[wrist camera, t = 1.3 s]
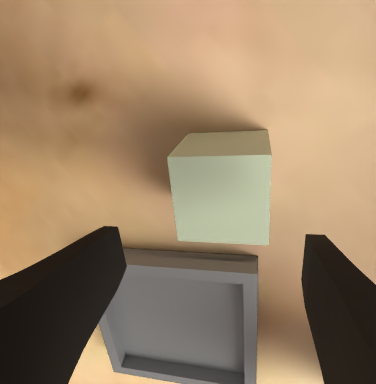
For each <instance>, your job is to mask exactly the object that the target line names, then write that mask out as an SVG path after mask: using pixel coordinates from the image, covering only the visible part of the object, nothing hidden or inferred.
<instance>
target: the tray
mask: <svg viewBox="0 0 376 384" xmlns="http://www.w3.org/2000/svg"><path fill="white" fill-rule="evenodd" d="M123 251H124V256H125V260H126V264H127V268H126V270H125V273H124V276H123V278H122V281H121V283H120V285H119V288H118V290H117V291H116V293H115V295H114V297H113V299H112V300H111V302H110V304H109V306H108V307H107V309H106V311H105V312H104V314H103V316H102V318H101V319H100V321H99V326H100V330H101V333H102V336H103V339H104V342H105V345H106V349H107V352H108V355H109V358H110V361H111V364H112V368H113V371H114V372H117V373H123V374H129V375H134V376H140V377H146V378H152V379H157V380H163V381H169V382H175V383H181V384H256V370H257V298H258V256H247V255H230V254H213V253H196V252H180V251H163V250H146V249H129V248H123Z"/></svg>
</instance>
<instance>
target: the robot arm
mask: <svg viewBox="0 0 376 384" xmlns="http://www.w3.org/2000/svg"><path fill="white" fill-rule="evenodd" d="M126 268H127V264H126V260H125V256H124V251H123V247H122V243H121V238H120V234H119V230H118V227H112V226H104V227H102V228H99V229H97V230H95V231H93V232H92V233H90V234H88V235H86V236H84V237H83V238H81V239H79V240H77V241H76V242H74V243H72V244H70V245H69V246H67V247H65V248H63V249H62V250H60V251H58V252H56V253H54V254H52V255H51V256H49V257H47V258H45V259H43V260H41V261H39V262H37V263H35V264H34V265H32V266H30V267H28V268H26V269H24V270H21V271H19V272H17V273H15V274H13V275H10V276H8V277H6V278H4V279H1V280H0V384H68V383H69V380H70V378H71V376H72V373H73V371H74V369H75V367H76V365H77V363H78V360H79V358H80V356H81V354H82V352H83V350H84V348H85V346H86V344H87V342H88V340H89V338H90V337H91V335H92V333H93V331H94V330H95V328H96V326H97V324H98V323H99V321H100V319H101V318H102V316H103V314H104V312H105V311H106V309H107V307H108V306H109V304H110V302H111V300H112V299H113V297H114V295H115V293H116V291H117V290H118V288H119V285H120V283H121V281H122V278H123V276H124V273H125V270H126ZM301 280H302V288H303V296H304V303H305V309H306V313H307V317H308V321H309V325H310V328H311V332H312V336H313V340H314V344H315V348H316V352H317V355H318V359H319V363H320V367H321V371H322V375H323V380H324V384H376V285H375V284H374V283H373V282H372V281H371V280H370V279H369V278H368V277H366V276H365V275H364V274H363V273H362V272H361V271H360V270H359V269H358V268H357V267H356V266H355V265H354V264H353V263H352V262H351V261H350V260H349V259H348V258H347V257H346V256H345V255H344V254H343V253H342V252H341V251H340V250H339V249H338V248H337V247H336V246H335V245H334V244H333V243H332V242H331V241H330V240H329V239H328V238H327V237H326V236H325V235H312V234H306V238H305V248H304V259H303V269H302V279H301Z"/></svg>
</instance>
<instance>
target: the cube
mask: <svg viewBox="0 0 376 384" xmlns="http://www.w3.org/2000/svg"><path fill="white" fill-rule="evenodd" d="M271 159H272V154H271V147H270V141H269V134H268V130H253V131H230V132H206V133H188V134H187V135H186V136H185V137H184V138H183V140H182V141H181V142H180V143H179V144H178V145H177V146H176V147H175V149H174V150H173V151H172V152H171V153H170V154H169V155H168V157H167V161H168V169H169V177H170V185H171V192H172V200H173V208H174V215H175V223H176V231H177V239H178V241H190V242H210V243H230V244H251V245H269V223H270V191H271Z"/></svg>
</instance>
